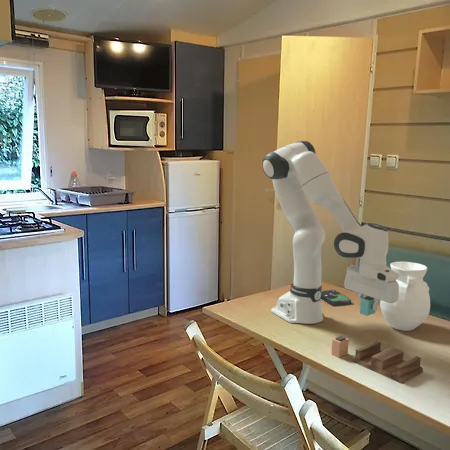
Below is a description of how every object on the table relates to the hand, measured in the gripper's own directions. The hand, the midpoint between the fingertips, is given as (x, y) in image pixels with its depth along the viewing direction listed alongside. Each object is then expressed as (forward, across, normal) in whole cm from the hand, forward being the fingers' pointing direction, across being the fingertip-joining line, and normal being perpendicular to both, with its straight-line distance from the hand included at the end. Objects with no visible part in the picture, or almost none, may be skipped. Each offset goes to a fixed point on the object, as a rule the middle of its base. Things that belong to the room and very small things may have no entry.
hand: (368, 307), depth 166 cm
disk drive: (+15, -38, +30) cm, 51 cm away
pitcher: (+14, -1, +27) cm, 31 cm away
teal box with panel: (+2, 0, 0) cm, 2 cm away
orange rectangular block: (+14, 0, -14) cm, 20 cm away
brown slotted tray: (+14, +15, -9) cm, 22 cm away
